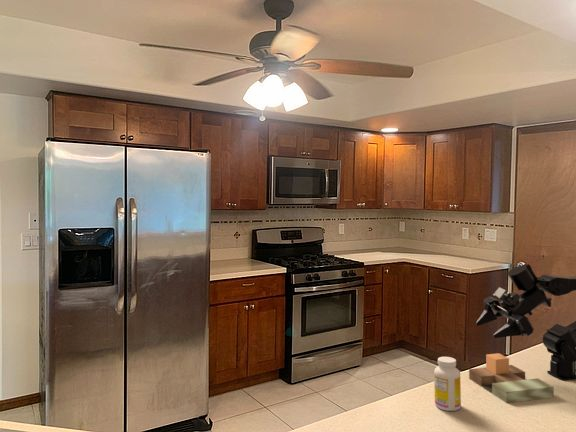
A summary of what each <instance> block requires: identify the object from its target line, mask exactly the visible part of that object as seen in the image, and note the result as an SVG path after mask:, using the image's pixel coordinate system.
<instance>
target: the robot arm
mask: <svg viewBox="0 0 576 432" xmlns="http://www.w3.org/2000/svg"><path fill="white" fill-rule="evenodd" d="M507 276H508V277H509V278H510V280H511V281H512V283H513V285H514V287H515V289H516V290H518V291H522V292H521V293H520V294H518V293H517V292H514V291H511V292H510V291H507V290H506V289H504V288H502V287H500V286H499V287H498V288H497V289H496V290H495V291H494V293H493V294H492V295H493V297H492V296H487V297H486V298H484V299H483V306H484V310H483V311H482V313H481V314H480V316H479V317H478V319H477V320H476V322H475V325H476V327H477V326H482V325H485V324H487V323H490V322H493V321H495V320H498V318H500V317H502V316H503V317H504V318H506V319H508V320H507V321H506V323H505V324H504V325H503V326H502V327H501V328H499V329H498V330H497V331H495V333H493V334H492V336H493V338H495V339H499V338H507V337H516V336H517V337H518V336H522V337H523V336H526V337H529V336H531V335H532V334H533V333H534V327H533V325H532V323H531V321H530V319H529V317H530V316H532V315H533V312H532V311H534V310H536V309H538V307H539V306H541V305H543V306H545V307H548V308H551V307H552V297H548V296H547V294H548V295H551V296H555V297H560V296H563V295H568V294H570V293H571V292H574V291H576V276H564V275H563V276H562V275H555V274H542V275H540V276H537V275H536V273H534V271H533V269H532V267H531V265H530V264H529V263H524V264H522V265H518V266H515V267H512V268H510V269H509V270H508V271H507ZM494 297H495V298H497V299H498V300H497V299H495V298H494ZM526 315H528V316H529V317H527V316H526ZM545 331H546V332H545V333H544V334H543V335H542V344H543V345H544V347H545V348H546V350H547V352H548V353H551V356H550V361H549V363H550V364H549V366H550V368H549V370H547V374H549V375H552V376H553V377H555V378H557V379H559V380H562V381H569V380H576V320H575V321H573V322H572V323H569V324H568V325H567V326H564V325H561V324H559V323H556V324H554V325H552V326H551V327H550V328H548V329H546V330H545Z"/></svg>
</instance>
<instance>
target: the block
mask: <svg viewBox="0 0 576 432" xmlns="http://www.w3.org/2000/svg"><path fill="white" fill-rule="evenodd" d="M485 358H486V359H485V360H486V361H485V362H486V363H485V365H486V366H485V368H486V369H487V370H489V371H491V372H493V373H494V374H504V373H509V365H510V358H509V357H508V356H505V355H503V354H501V353H498V352H497V353H489V354H485Z"/></svg>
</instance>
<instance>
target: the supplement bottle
mask: <svg viewBox="0 0 576 432" xmlns="http://www.w3.org/2000/svg"><path fill="white" fill-rule="evenodd" d="M437 364H438V366H436V367H435V368H434V371H433V373H434V374H433V377H434V378H433V380H434V381H433V382H434V404H435V406H436V407H437V408H438V409H441V410H442V411H447V412H455V411H459V410H460V409H461V407H462V395H461V393H462V392H461V371H460V370H459V369H458V368H456V366H457V359H456V358H453V357H451V356H440V357H438V358H437Z"/></svg>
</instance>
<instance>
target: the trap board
mask: <svg viewBox="0 0 576 432" xmlns="http://www.w3.org/2000/svg"><path fill="white" fill-rule="evenodd" d="M468 370H469V371H468V373H469V374H468V378H469V380H470V381H472V382H473V383H475V384H476V385H478V386H480V387H481V388H483V389H484V390H486V391H488V392H489V393H491V394H492V395H493V396H495V397H497V398H498V399H499V400H501V401H503V402H504V403H505V404H507V403H508V404H509V403H518V402H526V401H534V400H541V399H542V400H543V399H549V398H550V399H552V398H554V396H555V395H554V393H555V392H554V391H555V387H554V386H553V385H551V384H549V383H547V382H546V381H544V380H542V379H540V378H529V379H528V378H527V379H526V371H524V370H522V369H521V368H519V367H516V366H514V365H513V364H509V373H504V374H494V373H493V372H491V371H489V370H487V369H486V367H479V368H477V367H476V368H469V369H468Z"/></svg>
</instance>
